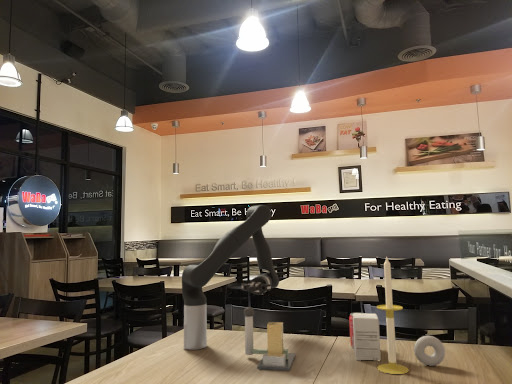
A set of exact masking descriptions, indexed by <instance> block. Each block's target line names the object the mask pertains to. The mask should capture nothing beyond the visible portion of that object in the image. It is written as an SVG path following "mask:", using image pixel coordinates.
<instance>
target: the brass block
mask: <svg viewBox="0 0 512 384" xmlns="http://www.w3.org/2000/svg"><path fill="white" fill-rule="evenodd" d="M266 332H267V333H266V334H267V337H266V338H267V339H266V340H267V349H268V353H270V354H284V349H285V347H284V322H283V321H282V322H281V321H280V322H278V321H276V322H275V321H268V322H267V326H266Z"/></svg>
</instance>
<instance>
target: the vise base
mask: <svg viewBox="0 0 512 384" xmlns="http://www.w3.org/2000/svg"><path fill="white" fill-rule="evenodd" d="M295 358H296V352H288V360H286V354H270V353H264V354H262V359H260V361H259V363H258V365H257V366H256V367H257V368H256V369H257V370H261V371H262V370H263V371H283V372H290V371H291V368H292V366H293V363H294V361H295Z"/></svg>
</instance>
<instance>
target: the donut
mask: <svg viewBox="0 0 512 384" xmlns="http://www.w3.org/2000/svg"><path fill="white" fill-rule="evenodd" d="M428 347H432V348H433V350H434V352H433V353H432V354H431V355H429V354H426V352H425V349H426V348H428ZM413 352H414V356H415V357H416V360H418V362H420V363H421V364H423V365H424V366H427V365H429V366H428V367H434V366H437V365H440V364H441V363H442V362H443V361H444V359H445V356H446V349H445V346H444V344H443V342H442V341H441V340H440V339H439V338H437V337H435V336H433V335H422V336H421V337H419V338H418V339H417V340H416V342H415V344H414V345H413Z"/></svg>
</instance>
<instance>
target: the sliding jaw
mask: <svg viewBox="0 0 512 384" xmlns="http://www.w3.org/2000/svg"><path fill="white" fill-rule="evenodd" d="M254 315H255V310H254V309H253V307H251V306H246V307H245V308H244V310H243V316H244V337H245V338H244V339H245V340H244V341H245V342H244V343H245V346H244V347H245V355H247V356H251V355H252V356H253V355H264V353H268V348H267V349H262V348H254ZM288 353H289V349H288V348H284V354H286V360H288Z"/></svg>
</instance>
